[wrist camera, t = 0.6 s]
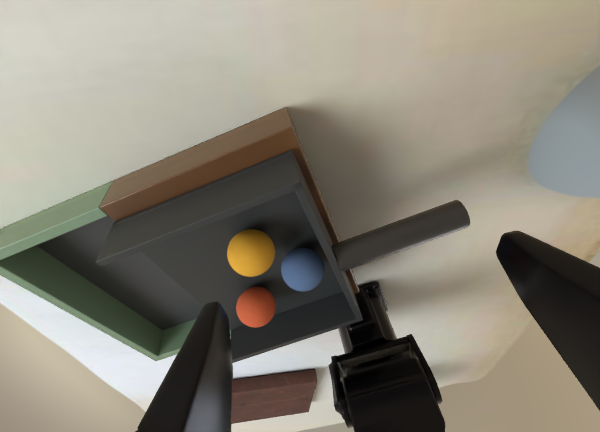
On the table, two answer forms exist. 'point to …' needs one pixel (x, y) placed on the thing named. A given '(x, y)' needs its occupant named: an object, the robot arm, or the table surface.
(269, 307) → the terracotta ball
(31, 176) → the table surface
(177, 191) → the stand
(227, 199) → the pan
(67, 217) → the bin
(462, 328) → the table surface
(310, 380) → the notebook
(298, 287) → the slate-blue ball
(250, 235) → the mustard ball
